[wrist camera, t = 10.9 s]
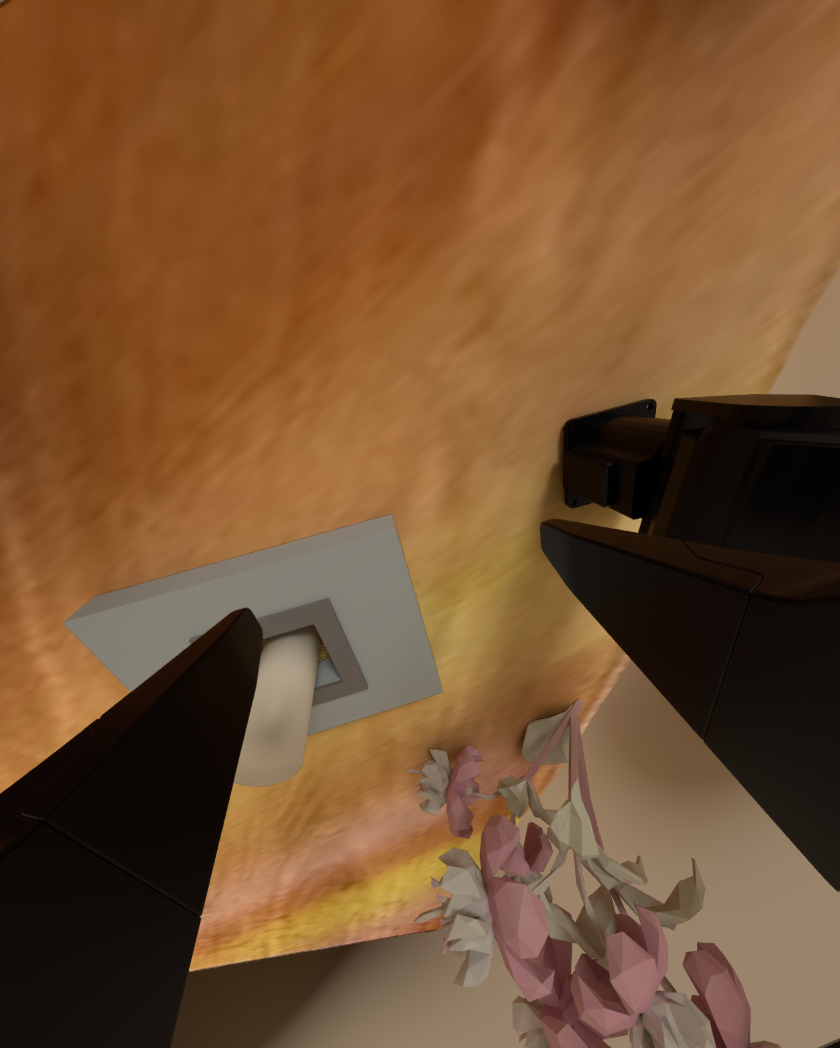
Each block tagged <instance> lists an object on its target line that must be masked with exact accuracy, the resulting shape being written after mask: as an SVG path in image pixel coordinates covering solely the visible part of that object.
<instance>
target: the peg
mask: <svg viewBox="0 0 840 1048" xmlns="http://www.w3.org/2000/svg"><path fill="white" fill-rule="evenodd" d="M321 642H322V639H321V637H320V635H319V633H318V631H317V629H316V627H315V625H314V624H313V625H309V626H306V627H302V628H299V629H296V630H292V631H289V632H286V633H282V634H279V635H275V636H272V637H269V638H267V639H266V641H265V644H264V647H263V649H262V652H261V657H260V665H259V673H258V680H257V686H256V691H255V695H254V699H253V704H252V708H251V712H250V716H249V720H248V724H247V729H246V733H245V737H244V741H243V745H242V750H241V754H240V758H239V762H238V766H237V770H236V775H235V779H234V783H237V784H240V785H244V786H252V787H261V786H270V785H274V784H278V783H281V782H283V781H286V780H288V779H289V778H291V777H292V776H294V775H295V774H296V773H297V772H298V771H299V770H300V768H301V767H302V764H303V759H304V752H305V746H306V739H307V733H308V726H309V720H310V713H311V707H312V700H313V694H314V687H315V681H316V674H317V668H318V661H319V655H320V648H321Z"/></svg>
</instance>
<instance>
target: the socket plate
mask: <svg viewBox="0 0 840 1048" xmlns="http://www.w3.org/2000/svg"><path fill="white" fill-rule="evenodd" d="M245 607H247V608H249V609H251V611H252V612H253V614H254V615H255V617H256V619H257V620H258V622H259V624H260V625H261V627H262V630H263V639H265V638H269V637H272V636H275V635H279V634H282V633H286V632H289V631H292V630H296V629H299V628H302V627H306V626H309V625H313V624H314V625H315V627H316V629H317V631H318V633H319V635H320V637H321V639H322V641H323V643H324V645H325V647H326V649H327V651H328V653H329V655H330V657H331V658H328V659H324V660H321V661H318V668H317V674H316V681H315V687H314V694H313V700H312V707H311V713H310V720H309V726H308V733H307V736H309V735H312V734H315V733H318V732H321V731H324V730H327V729H331V728H334V727H337V726H340V725H343V724H346V723H349V722H352V721H356V720H359V719H362V718H365V717H368V716H371V715H374V714H377V713H380V712H384V711H387V710H390V709H393V708H396V707H399V706H402V705H405V704H409V703H412V702H415V701H418V700H421V699H424V698H427V697H430V696H434V695H437V694H440V693H443V690H442V687H441V683H440V679H439V675H438V672H437V668H436V665H435V661H434V658H433V654H432V651H431V647H430V644H429V640H428V637H427V633H426V630H425V626H424V623H423V619H422V616H421V613H420V609H419V606H418V602H417V599H416V595H415V592H414V588H413V585H412V581H411V578H410V574H409V571H408V567H407V564H406V560H405V557H404V553H403V550H402V547H401V543H400V540H399V536H398V533H397V529H396V526H395V522H394V519H393V515H392V514H390V515H387V516H383V517H379V518H376V519H372V520H369V521H365V522H361V523H358V524H354V525H351V526H347V527H343V528H340V529H336V530H332V531H329V532H325V533H322V534H318V535H314V536H311V537H307V538H304V539H300V540H296V541H293V542H289V543H286V544H282V545H278V546H275V547H271V548H268V549H264V550H260V551H257V552H253V553H250V554H246V555H242V556H239V557H235V558H232V559H228V560H224V561H221V562H217V563H213V564H210V565H206V566H203V567H199V568H195V569H192V570H188V571H185V572H181V573H177V574H174V575H170V576H167V577H163V578H159V579H156V580H152V581H149V582H145V583H141V584H138V585H134V586H131V587H127V588H123V589H120V590H116V591H113V592H109V593H105V594H102V595H98V596H95V597H94V598H93V599H92V600H90V601H89V602H88V603H86V604H85V605H84V606H83V607H81V608H80V609H79V610H78V611H76V612H75V613H74V614H73V615H71V616H70V617H69V618H68V619H66V620H65V621H64V622H63V624H64V625H65V626H66V627H67V628H68V629H69V630H70V631H71V632H72V633H73V634H74V635H75V636H76V637H77V638H78V639H79V640H80V641H81V642H82V643H83V644H84V645H85V646H86V647H87V648H88V649H89V650H90V651H91V652H92V653H93V654H94V655H95V656H96V657H97V658H98V659H99V660H100V661H101V662H102V663H103V665H104V666H105V667H106V668H107V669H108V670H109V671H110V672H111V673H112V674H113V675H114V676H115V677H116V678H117V679H118V680H119V681H120V682H121V683H122V684H123V685H124V686H125V687H126V688H127V689H128V690H129V691H130V692H132V691H133V690H134V689H135V688H137V687H138V686H139V685H140V684H142V683H143V682H144V681H145V680H147V679H148V678H149V677H150V676H152V675H153V674H154V673H155V672H157V671H158V670H159V669H160V668H162V667H163V666H164V665H165V664H167V663H168V662H169V661H170V660H172V659H173V658H174V657H175V656H177V655H178V654H179V653H181V652H182V651H183V650H184V649H186V648H187V647H188V646H189V645H191V644H192V643H193V642H194V641H196V640H197V639H198V638H199V637H201V636H202V635H203V634H204V633H206V632H207V631H208V630H209V629H211V628H212V627H213V626H214V625H216V624H217V623H218V622H219V621H221V620H222V619H223V618H224V617H226V616H227V615H228V614H229V613H231V612H232V611H234V610H238V609H241V608H245Z"/></svg>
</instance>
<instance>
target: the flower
mask: <svg viewBox="0 0 840 1048" xmlns="http://www.w3.org/2000/svg"><path fill="white" fill-rule="evenodd" d="M584 704H585V703H584V702H583V701H581V700H580V699H579V698H578V700H577V701H576V702H575V704H574V705H573V703H572V704H571V706H570V707H569V708H568V710H567V711H566V712H563V713H561V714H558V715H556V716H553V717H551V718H546V719H540V720H535V721H531V722H530V723H529V725H528V726H527V728H526V732H525V737H524V742H523V747H522V752H521V753H522V755H523V756H524V758H525V760H526V761H527V762H530V763H533V764H532V766H531V767H530V769H529V770H528V771H527V773H526V774H525V775H523V776H522V777H521V778H519V779H518V778H516V777H513V776H509V777H506V778H504V779H501V780H499V781H498V786H497V789H498V791H497V792H496V793H494V794H483V793H479V785H478V784H477V783H476V782H475V780H474V779H473V778H474V777H476V776H479V765H478V762H477V761H483V759H482V757H481V755H480V753H479V751H478V749H477V748H473V747H470V746H466V747H465V748H464V749H463V750H462V751H461V752H460V753H459V754H458V755H457V758H456V761H455V763H454V766H453V768H452V770H451V767H450V763H449V760H448V756H447V752H446V751H443V750H440V749H429V750H430V752H431V754H432V758H433V760H429V759H427V758H425V757H424V758H425V759H426V761H427V762H426V763H425V764H424V765H423V764H421V763H420V765H421V766H422V767H424V768H423V770H422V771H418V770H415V769H411V768H410V769H409V770H408V772H410V773H416V774H421V775H424V776H426V777H424V778H421V779H420V783H422V784H418V785H417V786H420V785H421V786H420V788H421V789H419V790H418V791H419V792H418V794H417V795H418V796H421V797H424V798H426V799H427V800H426V801H424V802H422V803H420V807H421V809H422V811H425V812H427V813H430V814H433V815H434V814H436V813H437V812H438V811H439V810H440V809H441V808H442V807H443V805H444V804H445V803H446V802H447V811H446V813H447V816H448V819H449V827H450V830H451V832H452V833H453V835H454V836H457V837H462V838H467V839H469V837H470V835H471V834H472V832H473V828H472V826H471V825H470V824H471V821H472V818H473V814H472V812H471V811H470V810H469V809H468V807H467V806H468V805H470V804H471V803H473V802H475V801H476V800H478V799H479V797H480V798H483V799H486V800H488V801H489V800H491V799H494V798H497V797H500V796H503V797H504V798H506V801H507V807H508V809H509V810H510V811H511V818H510V820H509V819H507V818H506V817H505V816H503V815H491V817H490V818H489V820H488V822H487V823H486V825H485V827H484V830H483V832H482V835H481V847H480V863H481V870H480V869H479V867H478V866H477V864H476V863H475V862H474V860H473V859H472V857H471V856H470V855H469V853H468V852H467V851H465V850H462V849H458V848H453V849H451V850H449V851H448V852H446V853H445V854H443V855H442V856H440V857H438V858H439V859H440V860H441V861H442V862H443V863H445V864H446V865H447V866H448V868H447V870H446V873H445V875H444V877H442V878H441V880H440V881H437V880H436V879H434V878H432V877H431V878H432V880H433V881H432V880H431V883H432V887H433V890H434V889H435V888H436V887H437V886H440V887H441V888H442V889H444V890H446V891H448V892H449V893H451V894H453V896H452V898H445V897H441V896H436V897H437V899H438V901H439V902H442V901H446V900H448V901H446V902H443V903H442V906H441V907H438V908H435V909H432V910H429V911H426V912H423V913H421V914H420V915H419V916H418V917H417V918H416V919H415V920H414V922H413V923H422V922H425V921H427V920H430V919H432V918H435V917H437V916H439V915H442V914H443V915H444V917H451V918H446V919H440V922H441V929H443V928H444V927H446V926H447V925H449V924H450V923H451V924H450V925H449V927H448V928H447V929H446V930H445V932H446V933H447V934H448V935H449V937H448V939H447V940H446V939H444V947H443V948H444V955H445V953H446V952H447V950H451V951H454V952H455V953H456V954H457V955H458V956H459V957H461V958H462V959H463V960H464V962H463V964H462V966H461V968H460V970H459V972H458V974H457V976H456V978H455V980H454V982H453V983H454V984H457V985H460V986H478V985H479V984H480V983H481V982H483V980H485V979H486V978H487V977H488V974H489V969H490V964H491V958H492V953H493V947H494V941H495V938H496V941H497V943H498V946H499V949H500V952H501V955H502V957H503V960H504V963H505V966H506V968H507V970H508V971H509V973H510V975H511V976H512V978H513V979H514V981H515V983H516V984H517V986H518V987H519V989H520V990H521V991H522V993H523V994H524V996H525V999H524V998H522V997H520V996H518V997H517V998H516V999H515V1000H514V1001H513V1002H512V1012H513V1028H514V1029H515V1031H517V1032H518V1033H519V1032H525V1031H528V1032H526V1033H523V1034H521V1035H519V1042H520V1041H522V1040H523V1039H524V1038H525V1037H526V1036H527V1038H526V1043H525V1048H611V1047H610V1046H608V1045H607V1044H606V1043H605V1042H604V1041H603V1039H608V1038H613V1037H619V1036H624V1035H627V1034H628V1028H629V1035H630V1036H629V1038H630V1039H629V1041H630V1042H631V1044H632V1048H781V1047H780V1046H779V1045H778V1044H774V1043H771V1042H767V1041H760V1042H754V1043H750V1023H751V1018H750V1017H751V1016H750V1015H751V1011H750V1006H749V1003H748V1001H747V998H746V995H745V993H744V990H743V987H742V984H741V982H740V980H739V978H738V977H737V975H736V973H735V971H734V969H733V968H732V966H731V965H730V963H729V962H728V960H727V959H726V957H725V956H724V954H723V953H722V952H721V951H720V949H719V948H718V947H717V946H716V945H715V944H714V943H700V942H698V943H697V951H692V952H686V955H685V958H684V962H683V967H684V969H685V970H686V972H687V974H688V976H689V977H690V979H691V981H692V982H693V985H694V986H695V988H696V990H697V992H698V993H699V995H700V996H697V995H692V997H691V1000H690V999H689V998H688V997H687V996H686V995H685V994H684V993H677V991H676V990H675V989H674V987H673V986H672V985H671V983H670V982H669V981H668V979H667V978H666V977H665V973H666V971H667V969H668V945H667V942H666V939H665V936H664V933H663V930H662V928H661V926H663V927H667V928H670V929H672V930H674V929H675V927H676V925H677V924H680V923H683V922H685V921H688V920H690V919H691V918H692V917H693V916H695V915H696V914H697V913H698V912H699V911H700V910H701V909H702V905H703V899H704V893H705V886H704V883H703V881H702V878H701V875H700V872H699V869H698V866H697V864H696V861H695V859H693V858H692V866H693V876H692V877H689V878H687V879H684V880H681V881H679V882H678V884H677V885H676V887H675V888H674V890H673V891H672V893H671V894H670V896H669V898H668V899H667V901H666V902H665V904H663V903H661V902H660V901H658V900H656V899H654V898H653V897H651V896H649V895H647V894H645V893H644V892H642V891H640V890H639V889H637V888H635V887H632V886H631V885H629V884H638V885H646V884H647V882H648V879H647V877H646V876H645V871H644V867H643V863H642V860H641V856H638V857H637V861H636V863H634V862H630V861H627V862H624V863H622V864H619V863H618V862H616V861H615V860H613V859H612V858H610V857H609V856H608V855H607V854H606V853H605V852H604V848H603V844H602V840H601V837H600V833H599V829H598V825H597V821H596V818H595V814H594V810H593V807H592V802H591V798H590V792H589V786H588V780H587V773H586V766H585V759H584V753H583V746H582V740H581V733H580V727H579V720H578V713H579V711H580V710H581V708H582V707H583V706H584ZM572 706H573V707H572ZM558 763H569V798H568V799H567V800H566V802H565V803H564V804H563V805H562V807H561V808H560V809H559V810H546V809H543V807H542V805H541V802H540V800H539V797H538V795H537V792H536V790H535V788H534V786H533V784H532V782H531V781H530V780H531V778H532V777H533V775H534V774H535V773H536V771H537V770H538V769H539V767H540V766H541V765H547V764H558ZM423 784H424V785H423ZM422 787H428V788H422ZM528 804H529V806H530V808H531V810H532V812H533V814H534V816H535V817H538V818H541V819H542V820H543V821H545V822H546V823H547V824H549V825H550V827H549V828H548V830H547V836H546V835H545V834H544V833H543V830H542V828H541V827H539V826H538V825H536V824H535V823H533V822H530V823H528V827H527V832H526V837H525V843H524V848H522V846H521V844H520V843H519V840H520V833H519V828H518V827H516V825H515V816H516V817H518V818H520V817H521V816H522V815H523V814H524V812H525V810H526V807H527V805H528ZM548 839H549V840H550V841H551V842H552V843H553V844H554V845H555V846H556V848H558V849H559V853H558V855H557V857H556V860H555V862H554V864H553V867H552V869H551V871H550V873H549V874H548V875H546V876H543V875H542V874H540V873H539V872H543V871H544V869H545V867H546V865H547V863H548V861H549V859H550V857H551V855H552V853H553V850H552V846H551V844H550V842H549V840H548ZM570 848H571V849H572V850H573V852H574V861H575V873H576V883H577V886H578V889H579V892H580V895H581V897H582V900H583V903H584V906H583V908H582V910H581V912H580V914H579V916H578V918H577V920H576V922H574V920H572V916H571V914H570V913H568V912H567V911H565V910H564V909H562V908H561V907H560V906H558V905H557V904H554V903H552V895H551V891H550V887H549V884H550V883H551V882H552V880H553V879H554V877H555V875H556V874H557V873H558V871H559V869H560V868H561V867H562V865H563V864H564V862H565V859H566V856H567V852H568V849H570ZM581 863H582V864H583V865H584V867H585V868H586V869H587V870H588V871H589V872H590V873H591V874H592V875H593V876H594V877H595V878H596V879H597V880H598V882H599V883H600V884H601V886H600V887H599V888H598V889H597V890H596V891H595V892H594V893H593V894H592V895H590V896H589V897H588V896H587V894H586V892H585V886H584V879H583V873H582V865H581ZM499 868H500V869H502V870H503V871H505V873H506V874H505V875H504V876H503V877H502V878H498V877H494V875H495V874H496V872H497V871H498V870H499ZM627 883H629V884H627ZM611 895H612V897H613V899H614V901H615V903H616V906H617V908H618V910H619V912H620V914H616V913H615V909H614V905H613V901H612V897H611ZM619 896H620V897H621V898H622V899H623V900H624V901H625V903H627V905H628V906H629V907H630V908H631V909H632V910H633V911H634V913H636V915H637V916H638V917H639V919H640V923H641V926H640V925H639V924H638V923H637V922H635V921H634V920H633V919H632V918H631V917H630V916H628V915H627V912H626V910H625V908H624V906H623V904H622V902H621V899H620V897H619ZM547 901H548V902H547ZM453 918H454V920H452V919H453ZM450 920H452V921H450ZM572 942H573V943H577V944H578V945H579V946H580V947H581V948H582V949H583V951H584V952H585V953H586V954H583V953H582V955H581V956H580V958H579V960H578V963H577V964H576V966H575V971H574V972H573V974H571V961H572ZM592 958H595V959H592ZM659 984H661V985H662V987H663V988H664V990H665V991H657V988H658V986H659Z"/></svg>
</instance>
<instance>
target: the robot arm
mask: <svg viewBox="0 0 840 1048" xmlns="http://www.w3.org/2000/svg"><path fill="white" fill-rule="evenodd" d="M647 405H648V408H647V409H646V407H647ZM656 406H657V405H656V401H655V400H654V399H644V400H641V401H637V402H633V403H629V404H626V405H622V406H618V407H614V408H611V409H607V410H603V411H599V412H596V413H592V414H588V415H584V416H581V417H577V418H573V419H570V420H568V421H567V422H566V424H565V426H564V454H563V484H564V488H565V504H566V505H567V506H568V507H570V508H576V507H580V506H583V505H587V504H590V503H595V504H597V505H599V506H601V507H609V508H611V509H613V510H615V511H617V512H619V513H621V514H623V515H625V516H627V517H629V518H631V519H633V520H634V519H639V518H642V521H641V525H640V528H639V531H638V533H636V532H630V531H624V530H618V529H613V528H607V527H601V526H595V525H589V524H583V523H578V522H572V521H566V520H560V519H550V520H547V521H543V522H542V523H541V525H540V536H541V548H542V550H543V552H544V554H545V555H546V557H547V558H548V560H549V561H550V562H551V564H552V565H553V567H554V568H555V570H556V571H557V572H558V574H559V575H560V577H561V578H562V580H563V581H564V583H565V584H566V585H567V587H568V588H569V589H570V590H571V592H572V593H573V594H574V595H575V596H576V597H577V599H578V600H579V601H580V602H581V603H582V604H583V605H584V607H585V608H586V609H587V610H588V611H589V612H590V613H591V614H592V616H593V617H594V618H595V619H596V620H597V621H598V622H599V624H600V625H601V626H602V627H603V628H604V629H605V630H606V631H607V633H608V634H609V635H610V636H611V637H612V638H613V639H614V641H615V642H616V643H617V644H618V645H619V646H620V647H621V648H622V650H623V651H624V652H625V653H626V654H627V655H628V656H629V658H630V659H631V660H632V661H633V662H634V663H635V664H636V665H637V667H638V668H639V669H640V670H641V671H642V672H643V673H644V675H645V676H646V677H647V678H648V679H649V680H650V681H651V682H652V684H653V685H654V686H655V687H656V688H657V689H658V690H659V692H660V693H661V694H662V695H663V696H664V697H665V698H666V699H667V701H668V702H669V703H670V704H671V705H672V706H673V707H674V709H675V710H676V711H677V712H678V713H679V714H680V715H681V716H682V718H683V719H684V720H685V721H686V722H687V723H688V724H689V726H690V727H691V728H692V729H693V730H694V731H695V732H696V733H697V735H698V736H699V737H700V738H701V739H703V740H704V743H705V744H706V745H707V746H708V747H709V749H710V750H711V751H712V752H713V753H714V754H715V755H716V757H717V758H718V759H719V760H720V761H721V762H722V763H723V764H724V766H725V767H726V768H727V769H728V770H729V771H730V772H731V773H732V775H733V776H734V777H735V778H736V779H737V780H738V781H739V783H740V784H741V785H742V786H743V787H744V788H745V789H746V790H747V792H748V793H749V794H750V795H751V796H752V797H753V798H754V800H755V801H756V802H757V803H758V804H759V805H760V806H761V807H762V809H763V810H764V811H765V812H766V813H767V814H768V815H769V817H771V819H772V820H773V821H774V822H775V823H776V824H777V826H778V827H779V828H780V829H781V830H782V831H783V832H784V833H785V835H786V836H787V837H788V838H789V839H790V840H791V841H792V843H793V844H794V845H795V846H796V847H797V848H798V849H799V851H800V852H801V853H802V854H803V855H804V856H805V857H806V858H807V859H808V861H809V862H810V863H811V864H812V865H813V866H814V868H815V869H816V870H817V871H818V872H819V873H820V874H821V875H822V876H823V878H824V879H825V880H826V881H827V882H828V883H829V884H830V885H831V886H832V887H833V888H834V889H835V890H836V891H838V892H840V398H833V397H826V396H819V395H777V394H776V395H773V394H748V395H729V396H711V397H692V398H675V399H674V402H673V405H672V409H671V410H674V411H673V414H672V417H671V420H670V419H661V418H655V414H656ZM573 424H574V428H573V430H571V426H572V425H573ZM573 499H574V501H573V503H571V501H572V500H573ZM262 642H263V630H262V627H261V625H260V624H259V622H258V620H257V619H256V617H255V615H254V614H253V612H252V611H251V609H249V608H247V607H245V608H241V609H238V610H234V611H232V612H231V613H229V614H228V615H227V616H226V617H224V618H223V619H222V620H221V621H219V622H218V623H217V624H216V625H214V626H213V627H212V628H211V629H209V630H208V631H207V632H206V633H204V634H203V635H202V636H201V637H199V638H198V639H197V640H196V641H194V642H193V643H192V644H191V645H189V646H188V647H187V648H186V649H184V650H183V651H182V652H181V653H179V654H178V655H177V656H175V657H174V658H173V659H172V660H170V661H169V662H168V663H167V664H165V665H164V666H163V667H162V668H160V669H159V670H158V671H157V672H155V673H154V674H153V675H152V676H150V677H149V678H148V679H147V680H145V681H144V682H143V683H142V684H140V685H139V686H138V687H137V688H135V689H134V690H133V691H132V692H130V693H129V694H128V695H127V696H125V697H124V698H123V699H122V700H120V701H119V702H118V703H116V704H115V705H114V706H113V707H111V708H110V709H109V710H108V711H106V712H105V713H104V714H103V715H102V716H101V717H100V719H96V720H95V721H94V722H93V723H91V724H90V725H89V726H88V727H86V728H85V729H84V730H83V731H81V732H80V733H79V734H77V735H76V736H75V737H74V738H72V739H71V740H70V741H69V742H67V743H66V744H65V745H63V746H62V747H61V748H60V749H58V750H57V751H56V752H54V753H53V754H52V755H51V756H49V757H48V758H47V759H45V760H44V761H43V762H42V763H40V764H39V765H38V766H36V767H35V768H34V769H32V770H31V771H30V772H28V773H27V774H26V775H24V776H23V777H22V778H20V779H19V780H18V781H16V782H15V783H14V784H12V785H11V786H10V787H9V788H7V789H6V790H5V791H3V792H2V793H0V1048H170V1047H171V1043H172V1039H173V1034H174V1030H175V1026H176V1022H177V1018H178V1014H179V1009H180V1005H181V1001H182V997H183V993H184V989H185V984H186V980H187V976H188V972H189V968H190V963H191V959H192V955H193V951H194V947H195V943H196V938H197V934H198V930H199V926H200V922H201V918H200V916H201V915H202V912H203V908H204V904H205V900H206V896H207V891H208V887H209V883H210V879H211V875H212V871H213V866H214V862H215V858H216V854H217V850H218V845H219V841H220V837H221V833H222V829H223V825H224V820H225V816H226V812H227V808H228V804H229V800H230V795H231V791H232V787H233V783H234V779H235V775H236V770H237V766H238V762H239V758H240V754H241V750H242V745H243V741H244V737H245V733H246V729H247V724H248V720H249V716H250V712H251V708H252V704H253V699H254V695H255V691H256V686H257V680H258V673H259V665H260V657H261V650H262ZM818 1048H840V1038H839V1039H837V1040H834V1041H832V1042H830V1043H828V1044H825V1045H823V1046H821V1047H818Z"/></svg>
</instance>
